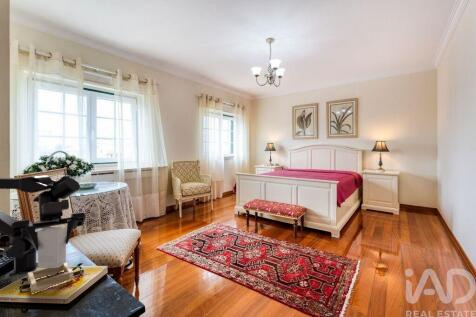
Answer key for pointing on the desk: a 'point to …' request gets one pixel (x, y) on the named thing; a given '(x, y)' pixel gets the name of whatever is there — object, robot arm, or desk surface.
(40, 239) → the skincare box
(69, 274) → the socket holder
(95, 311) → the desk surface
